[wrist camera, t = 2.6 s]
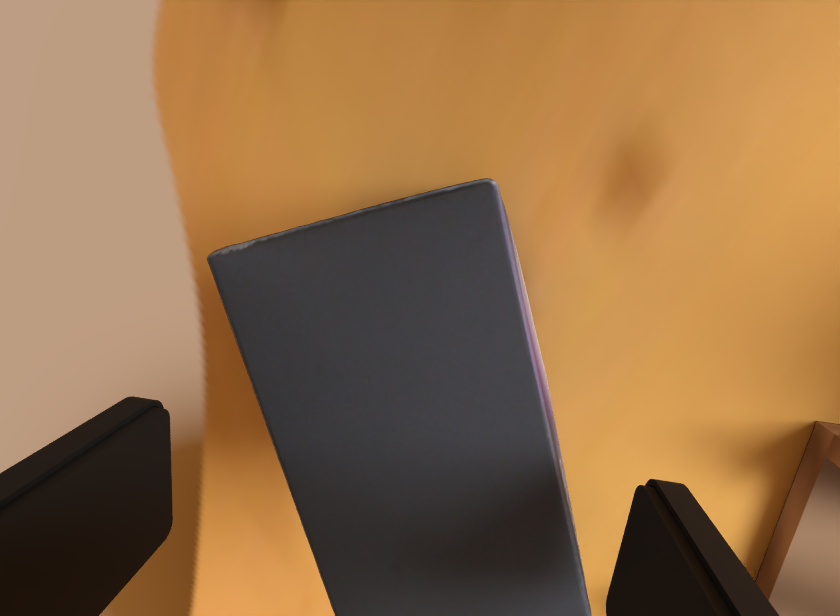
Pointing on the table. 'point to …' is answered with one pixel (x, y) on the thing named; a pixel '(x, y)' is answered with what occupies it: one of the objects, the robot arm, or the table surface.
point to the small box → (410, 407)
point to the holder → (808, 535)
